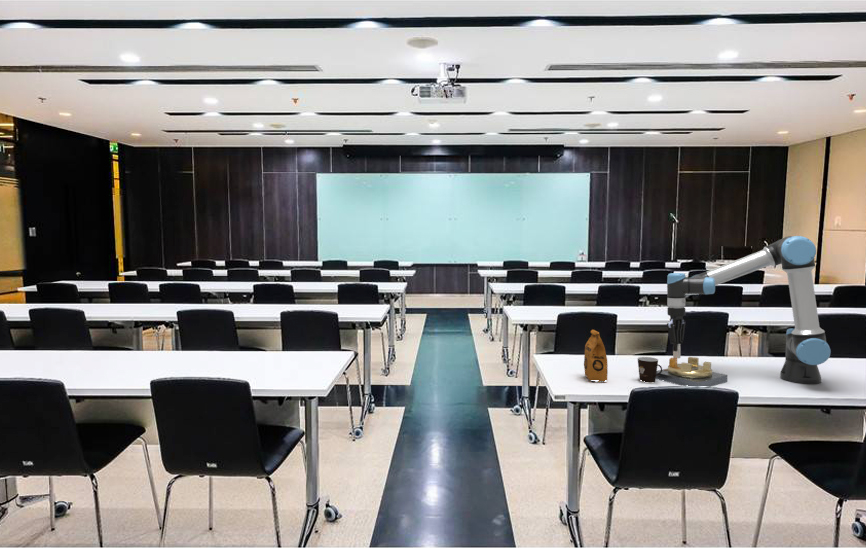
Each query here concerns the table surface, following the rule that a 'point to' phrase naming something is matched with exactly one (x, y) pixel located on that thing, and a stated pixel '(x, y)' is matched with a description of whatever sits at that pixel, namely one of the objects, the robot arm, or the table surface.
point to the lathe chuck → (690, 368)
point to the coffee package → (595, 358)
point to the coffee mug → (648, 368)
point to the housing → (692, 379)
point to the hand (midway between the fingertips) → (676, 357)
